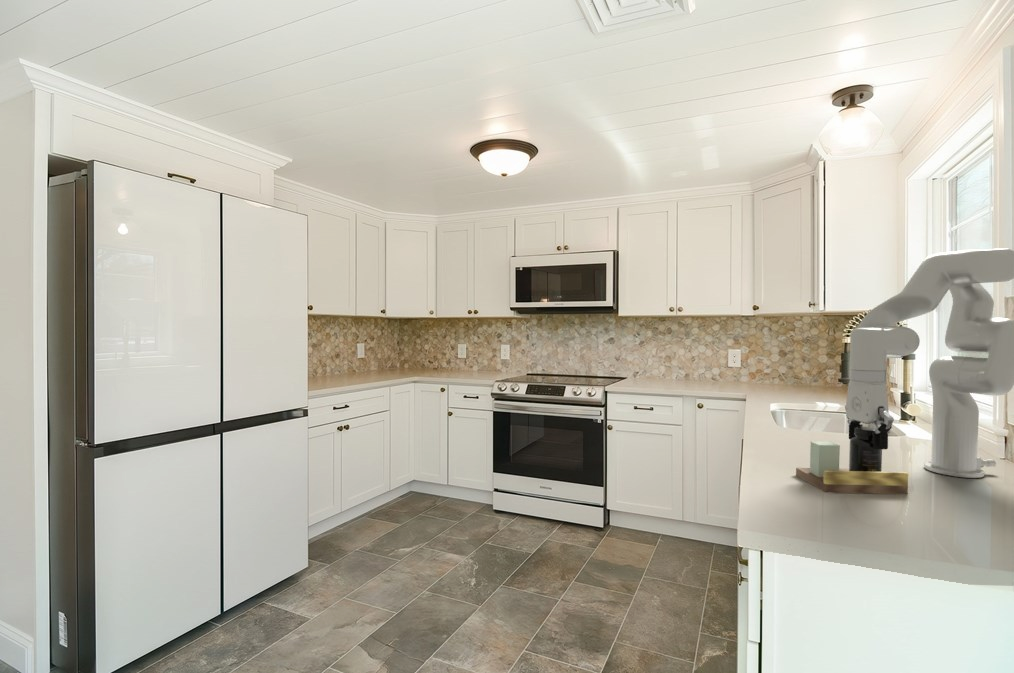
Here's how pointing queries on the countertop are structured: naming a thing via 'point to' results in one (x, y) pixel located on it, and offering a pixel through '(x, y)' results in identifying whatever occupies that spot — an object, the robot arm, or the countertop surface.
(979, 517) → the countertop surface
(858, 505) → the countertop surface
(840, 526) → the countertop surface
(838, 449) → the product box
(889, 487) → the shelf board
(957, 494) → the countertop surface
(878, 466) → the supplement bottle
